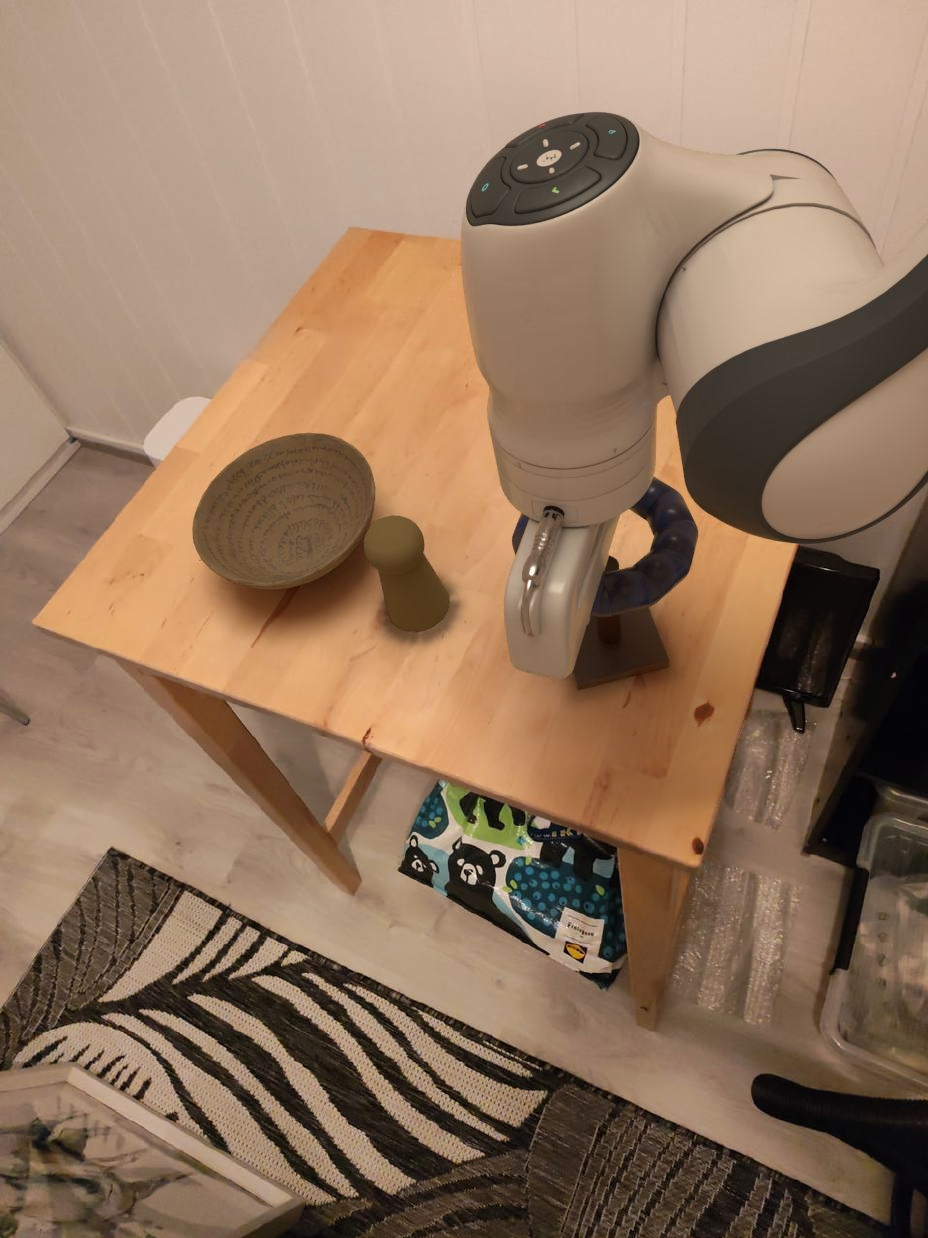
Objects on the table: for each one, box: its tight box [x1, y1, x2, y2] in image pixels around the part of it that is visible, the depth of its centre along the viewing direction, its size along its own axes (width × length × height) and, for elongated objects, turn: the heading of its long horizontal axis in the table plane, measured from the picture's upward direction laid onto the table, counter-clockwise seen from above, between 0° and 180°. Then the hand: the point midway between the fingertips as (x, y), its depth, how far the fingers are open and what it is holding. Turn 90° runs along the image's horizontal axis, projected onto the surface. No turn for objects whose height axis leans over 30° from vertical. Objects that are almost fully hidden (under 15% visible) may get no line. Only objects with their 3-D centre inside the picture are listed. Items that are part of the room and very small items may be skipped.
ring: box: [511, 476, 699, 617], centre depth 59 cm, size 13×13×3 cm
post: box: [571, 555, 671, 691], centre depth 66 cm, size 8×8×11 cm
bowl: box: [191, 432, 376, 590], centre depth 79 cm, size 18×18×8 cm
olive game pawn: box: [363, 515, 450, 633], centre depth 72 cm, size 6×6×11 cm
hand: (586, 590), depth 56 cm, fingers closed on ring, 3 cm apart
